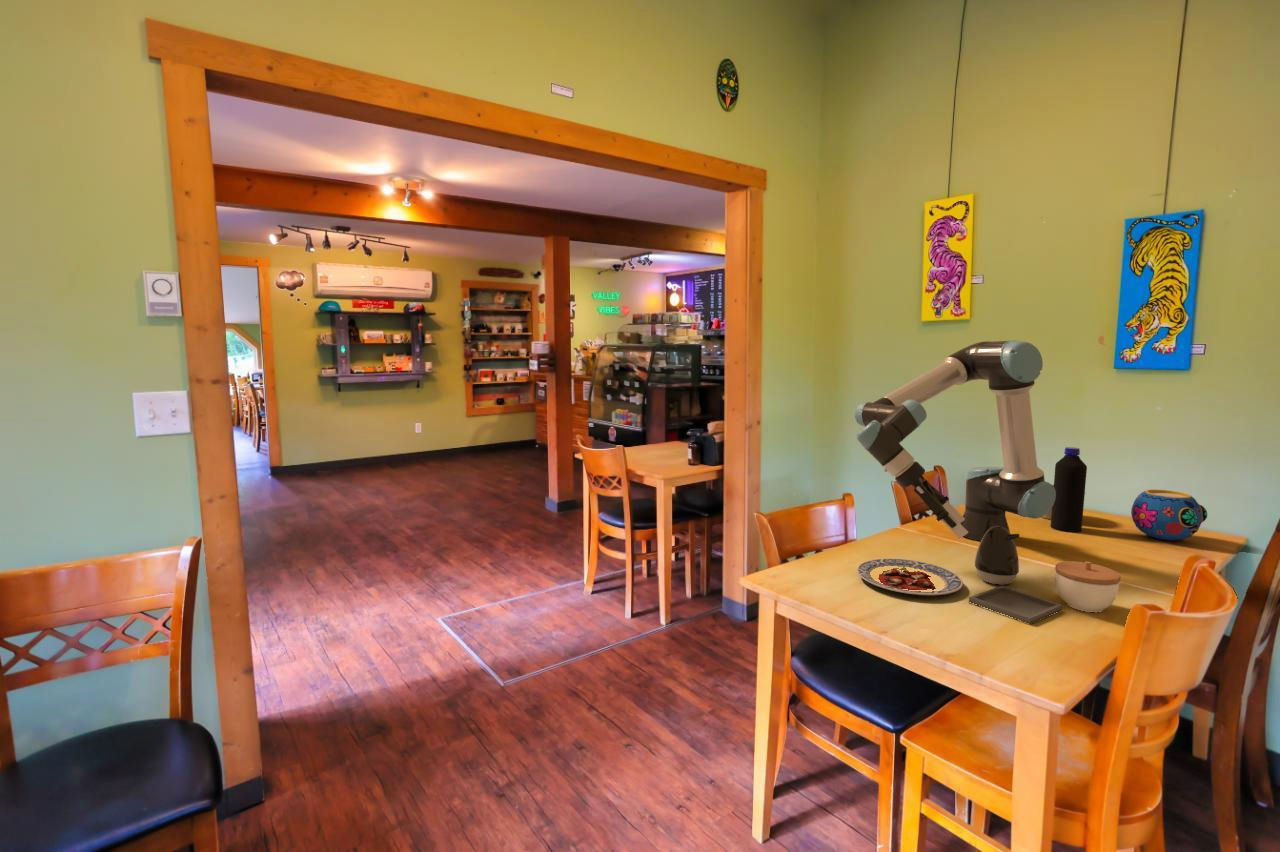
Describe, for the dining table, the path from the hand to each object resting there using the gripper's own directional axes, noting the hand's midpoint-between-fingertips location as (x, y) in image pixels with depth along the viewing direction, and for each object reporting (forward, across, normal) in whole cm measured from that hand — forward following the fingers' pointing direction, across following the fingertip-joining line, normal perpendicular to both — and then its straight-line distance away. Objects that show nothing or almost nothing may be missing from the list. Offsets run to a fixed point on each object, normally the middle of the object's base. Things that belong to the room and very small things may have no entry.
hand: (962, 528), depth 166 cm
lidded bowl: (+28, +9, +9) cm, 31 cm away
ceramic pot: (+54, -66, +34) cm, 92 cm away
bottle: (+35, -66, +16) cm, 76 cm away
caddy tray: (+17, +16, -2) cm, 24 cm away
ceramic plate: (+1, +9, -19) cm, 21 cm away
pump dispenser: (+16, -1, -4) cm, 16 cm away
